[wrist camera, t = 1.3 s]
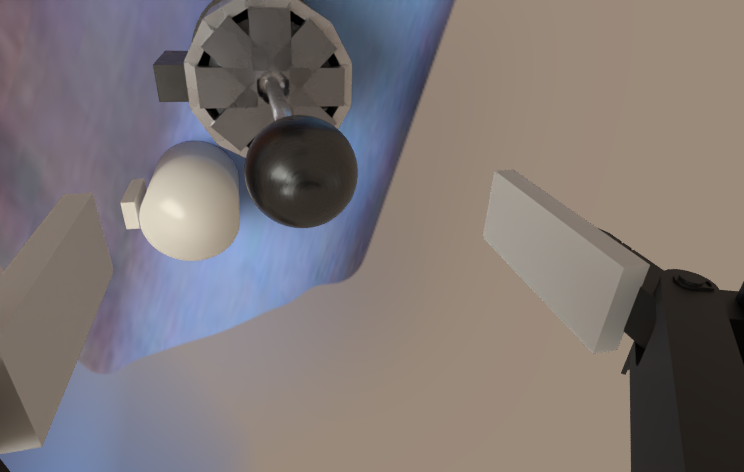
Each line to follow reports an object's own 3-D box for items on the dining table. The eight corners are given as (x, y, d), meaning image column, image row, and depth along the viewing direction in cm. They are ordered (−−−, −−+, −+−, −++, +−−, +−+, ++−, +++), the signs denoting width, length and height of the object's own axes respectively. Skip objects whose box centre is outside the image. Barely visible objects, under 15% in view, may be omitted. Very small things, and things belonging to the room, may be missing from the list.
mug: (130, 142, 42) (108, 180, 34) (234, 139, 44) (235, 174, 37) (146, 217, 46) (129, 266, 38) (242, 211, 48) (243, 256, 40)
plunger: (200, 13, 30) (157, 67, 13) (330, 17, 32) (436, 68, 15) (215, 141, 34) (198, 306, 18) (330, 137, 36) (413, 282, 20)
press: (160, -21, 37) (133, -18, 27) (330, -14, 40) (362, -9, 30) (183, 128, 43) (168, 176, 33) (330, 124, 46) (357, 167, 36)
